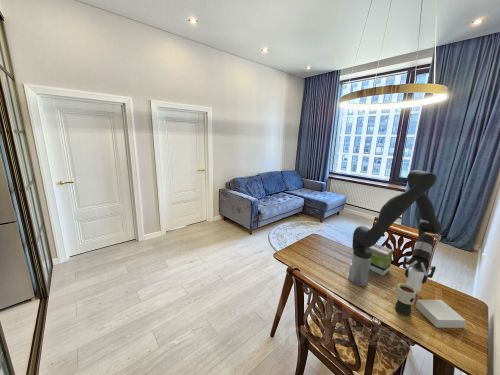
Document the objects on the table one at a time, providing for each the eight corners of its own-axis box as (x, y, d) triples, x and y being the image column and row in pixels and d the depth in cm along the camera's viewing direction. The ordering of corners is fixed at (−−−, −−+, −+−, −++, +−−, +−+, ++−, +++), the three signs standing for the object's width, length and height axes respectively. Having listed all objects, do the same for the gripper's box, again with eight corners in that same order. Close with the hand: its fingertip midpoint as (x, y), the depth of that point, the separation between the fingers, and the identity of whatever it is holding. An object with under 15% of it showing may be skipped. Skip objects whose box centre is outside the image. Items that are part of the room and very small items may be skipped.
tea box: (358, 265, 140) (361, 244, 137) (365, 260, 146) (368, 240, 143) (383, 276, 129) (387, 254, 125) (390, 270, 135) (393, 249, 131)
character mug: (408, 322, 96) (413, 298, 93) (390, 313, 101) (394, 289, 98) (414, 310, 103) (418, 286, 100) (396, 302, 108) (400, 279, 105)
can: (423, 293, 111) (427, 273, 108) (409, 291, 112) (413, 271, 109) (416, 285, 117) (420, 266, 114) (403, 283, 118) (407, 264, 116)
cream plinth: (436, 327, 93) (438, 319, 93) (415, 306, 105) (417, 299, 104) (463, 327, 93) (465, 320, 93) (439, 306, 105) (441, 300, 104)
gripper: (406, 244, 120) (398, 271, 115) (440, 254, 110) (432, 284, 105) (406, 249, 125) (398, 276, 119) (438, 259, 115) (431, 288, 109)
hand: (414, 279), depth 112 cm, fingers closed on can, 6 cm apart
